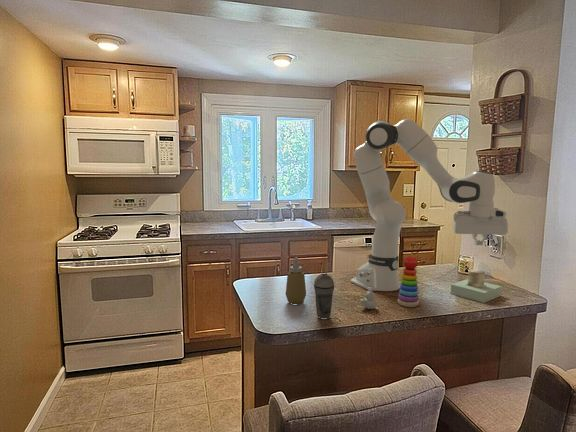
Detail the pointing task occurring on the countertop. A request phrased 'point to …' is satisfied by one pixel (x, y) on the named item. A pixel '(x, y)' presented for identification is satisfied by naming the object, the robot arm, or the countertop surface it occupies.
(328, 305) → the beverage cup
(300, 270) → the squeeze bottle
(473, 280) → the peg
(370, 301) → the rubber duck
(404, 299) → the stacking toy
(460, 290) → the socket block
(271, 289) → the countertop surface
